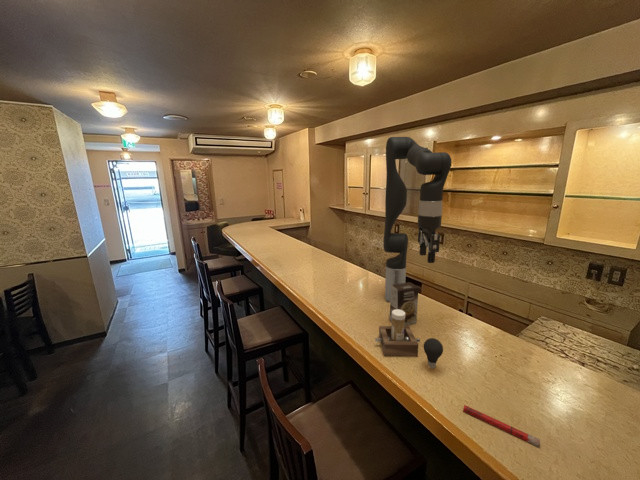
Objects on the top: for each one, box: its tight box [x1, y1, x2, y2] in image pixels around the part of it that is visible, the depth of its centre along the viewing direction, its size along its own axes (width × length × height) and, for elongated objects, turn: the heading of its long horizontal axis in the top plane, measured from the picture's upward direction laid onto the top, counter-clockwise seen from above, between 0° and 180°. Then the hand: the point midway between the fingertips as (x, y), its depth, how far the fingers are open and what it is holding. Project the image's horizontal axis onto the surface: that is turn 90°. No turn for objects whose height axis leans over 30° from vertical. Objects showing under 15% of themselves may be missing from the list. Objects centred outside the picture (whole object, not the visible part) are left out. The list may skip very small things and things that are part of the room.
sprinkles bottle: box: [391, 309, 405, 341], centre depth 91 cm, size 5×5×13 cm
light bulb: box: [423, 337, 444, 369], centre depth 80 cm, size 6×6×10 cm
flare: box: [462, 404, 541, 448], centre depth 62 cm, size 2×15×2 cm, turn 52°
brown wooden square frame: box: [378, 325, 419, 358], centre depth 92 cm, size 11×11×5 cm
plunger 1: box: [374, 337, 391, 343], centre depth 92 cm, size 2×5×2 cm, turn 87°
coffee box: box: [388, 281, 420, 326], centre depth 105 cm, size 9×6×16 cm
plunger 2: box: [404, 336, 421, 343], centre depth 91 cm, size 2×5×2 cm, turn 87°
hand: (426, 258), depth 92 cm, fingers open, 8 cm apart
